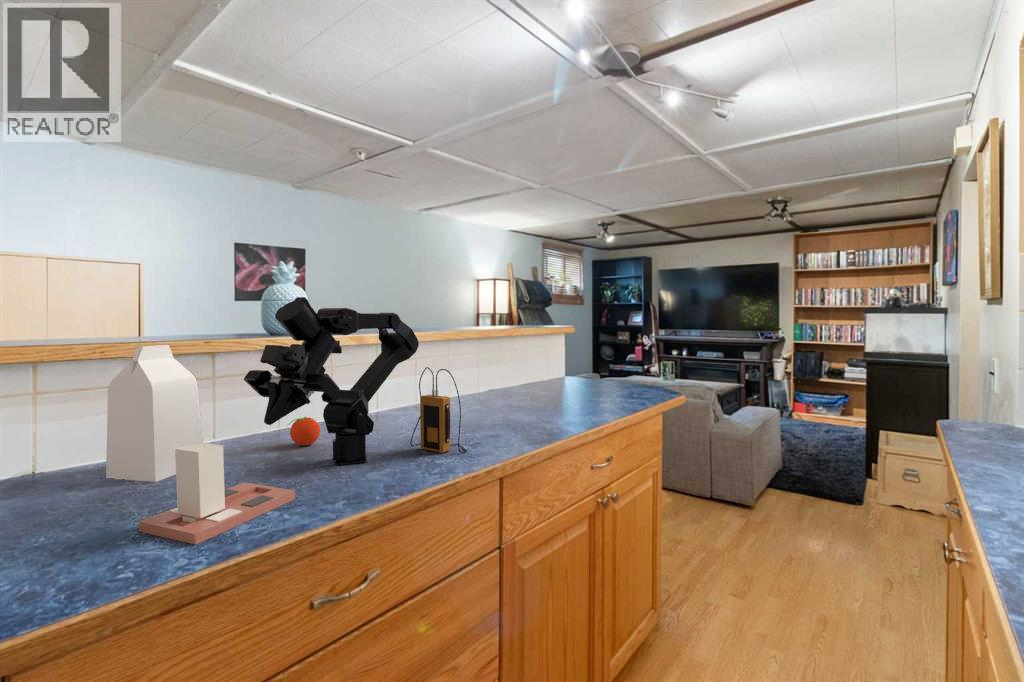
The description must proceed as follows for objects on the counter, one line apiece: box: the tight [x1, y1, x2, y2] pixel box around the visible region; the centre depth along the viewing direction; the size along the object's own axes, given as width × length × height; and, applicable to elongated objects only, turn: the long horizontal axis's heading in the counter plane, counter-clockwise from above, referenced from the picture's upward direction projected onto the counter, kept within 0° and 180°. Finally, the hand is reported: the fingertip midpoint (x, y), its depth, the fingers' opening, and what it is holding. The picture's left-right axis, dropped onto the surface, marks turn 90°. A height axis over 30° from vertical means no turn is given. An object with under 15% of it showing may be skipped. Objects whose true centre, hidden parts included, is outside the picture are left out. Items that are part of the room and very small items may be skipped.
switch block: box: [138, 481, 296, 546], centre depth 78 cm, size 18×12×2 cm, turn 159°
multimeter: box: [410, 366, 468, 454], centre depth 117 cm, size 15×10×20 cm
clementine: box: [286, 416, 321, 447], centre depth 119 cm, size 8×7×7 cm
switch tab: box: [175, 442, 225, 523], centre depth 74 cm, size 4×5×11 cm
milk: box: [105, 344, 204, 483], centre depth 99 cm, size 12×12×26 cm
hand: (266, 423), depth 85 cm, fingers closed
